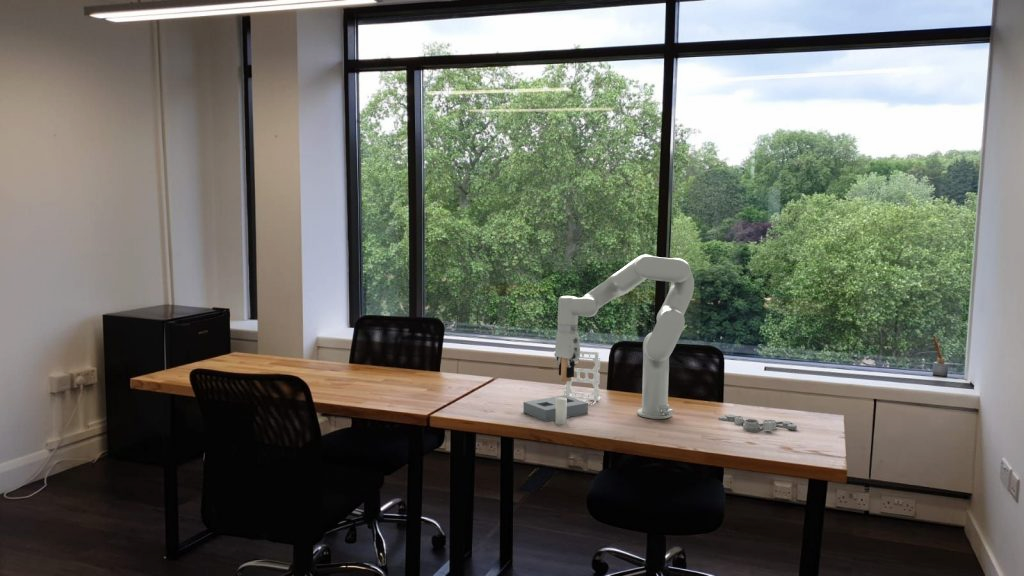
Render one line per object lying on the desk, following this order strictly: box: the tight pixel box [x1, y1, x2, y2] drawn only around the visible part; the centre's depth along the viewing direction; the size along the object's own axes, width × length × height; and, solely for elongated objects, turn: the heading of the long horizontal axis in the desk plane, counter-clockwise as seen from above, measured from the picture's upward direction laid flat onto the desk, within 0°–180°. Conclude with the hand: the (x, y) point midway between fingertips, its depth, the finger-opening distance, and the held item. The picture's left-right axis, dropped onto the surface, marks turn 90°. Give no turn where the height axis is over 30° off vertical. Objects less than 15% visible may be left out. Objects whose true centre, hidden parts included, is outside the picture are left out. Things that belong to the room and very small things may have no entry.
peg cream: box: [554, 396, 568, 426], centre depth 256 cm, size 4×4×9 cm
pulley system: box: [718, 414, 798, 433], centre depth 256 cm, size 27×5×15 cm
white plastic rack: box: [563, 350, 602, 406], centre depth 289 cm, size 14×14×20 cm
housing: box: [522, 394, 589, 422], centre depth 270 cm, size 14×20×4 cm
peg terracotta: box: [560, 357, 572, 382], centre depth 272 cm, size 4×4×9 cm
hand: (566, 375), depth 272 cm, fingers closed on peg terracotta, 4 cm apart
